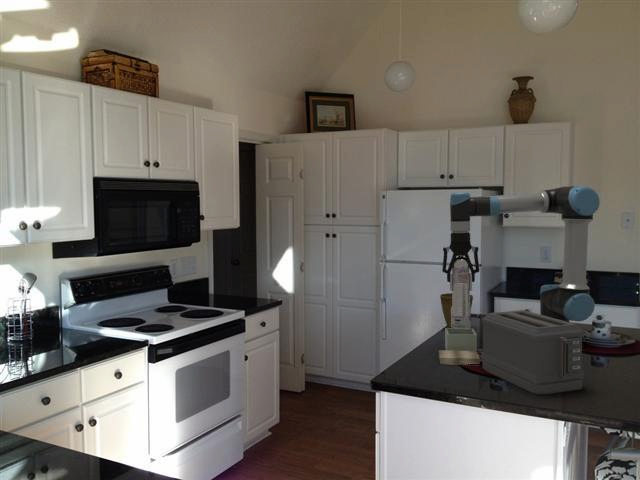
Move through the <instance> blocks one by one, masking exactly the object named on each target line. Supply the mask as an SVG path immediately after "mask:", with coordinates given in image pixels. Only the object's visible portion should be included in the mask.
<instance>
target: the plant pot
mask: <svg viewBox="0 0 640 480" xmlns="http://www.w3.org/2000/svg"><path fill="white" fill-rule="evenodd" d="M439 297H440V303H441V309H442V313H443V318H444V321H445V324H446V326H447V327H446V328H451V307H452V292H449V293H448V292H447V293H441V294H440V295H439ZM473 301H474V295H473V294H470V309H471V310H472V306H473Z"/></svg>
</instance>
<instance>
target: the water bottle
mask: <svg viewBox="0 0 640 480" xmlns="http://www.w3.org/2000/svg"><path fill="white" fill-rule="evenodd" d="M451 272H452V273H451V274H452V290H453V291H451V293H452V313H453V315H454V316H457V317H467V316H469V315H470V295H471V291H470V283H469V282H470V281H469V273H470V268H469V262H468V261H467V259H466V258H465V256H461V255H460V256H457V257H456V259H455V261H454V262H453V267H452V270H451Z"/></svg>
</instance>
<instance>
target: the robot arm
mask: <svg viewBox="0 0 640 480" xmlns="http://www.w3.org/2000/svg"><path fill="white" fill-rule="evenodd" d="M449 198H450V201H449V208H450V209H449V211H450V232H451V233H450V244H449V246H445V247H443V248H442V251H443V259H442V260H443V261H442V273H444V274H446V281H447V283H449V291H451V292H452V291H453V290H452V273H451V272H452V267H453V262H454V261H455V259H456V258H457V257H458V256H460V255H461V256H463V257H465V258H466V259H467V261H468V262H469V281H470V282H469V283H470V292H472V291H473V283H475V281H476V275H475V274H477V273H480V264H479V256H478V255H479V253H478V252H479V247H478V246H473V245H472V244H471V233H470V231H471V217H494V216H498V215H499V214H509V213H510V214H512V213H513V214H515V213H527V212H540V213H542V214H560V215H561V218H560V219H561V221H563V222H564V243H563V244H564V245H563V262H562V263H563V266H562V267H563V268H562V282H561V283H560V284H544V285H542V286H540V292H539V295H540V296H539V297H540V299H539V301H540V302H539V303H540V304H539V305H540V306H539V308H540V309H539V311H540V312H539V314H540V315H544V316H547V317H551V318H555V319H558V320H562V321H566V322H570V321H571V322H572V321H573V322H583V321H585V320H587V319H589V317H591V316H592V315H593V313H594V312H595V311H594V310H595V306H596V305H595V300H594V299H593V297H592V296H591V295H590V289H591V288H590V287H589V286H588V285H587V283H586V282H587V280H586V279H587V264H588V263H587V261H588V260H587V259H588V240H589V239H588V237H589V235H588V234H589V224H591V222H593V220H594V214H595V213H596V212H597V211H598V210H599V208H600V197H599V194H598V193H597V192H596V190H595V189H593V188H592V187H590V186H587V185H573V186H572V185H570V186H568V185H567V186H560V187H555V188H551V189H544V190H543V189H542V190H540V191H538V192H534V193H531V192H530V193H518V194H499V195H489V196H487V195H485V196H471V193H469V192H453V193H451V194H450V197H449ZM450 251H451V252H452V256H451V259H450V262H449V265H448V264H447V262H448V253H449V252H450ZM471 251H472V253H473V258H474V259H473V261H474V267H475V268H474V267H473V264H472V261H471V259H470V256H469V252H471ZM447 265H448V268H447ZM571 322H570V323H571Z"/></svg>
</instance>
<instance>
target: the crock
mask: <svg viewBox="0 0 640 480" xmlns="http://www.w3.org/2000/svg"><path fill="white" fill-rule="evenodd" d="M477 338H478V335H477V333H476V331H475V329H474V328H471V329H470V328H448V327H445V328H444V348H445V350H457V351H477V352H478V349H477V348H478V347H477V346H478V345H477V343H478V341H477V340H478V339H477Z"/></svg>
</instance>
